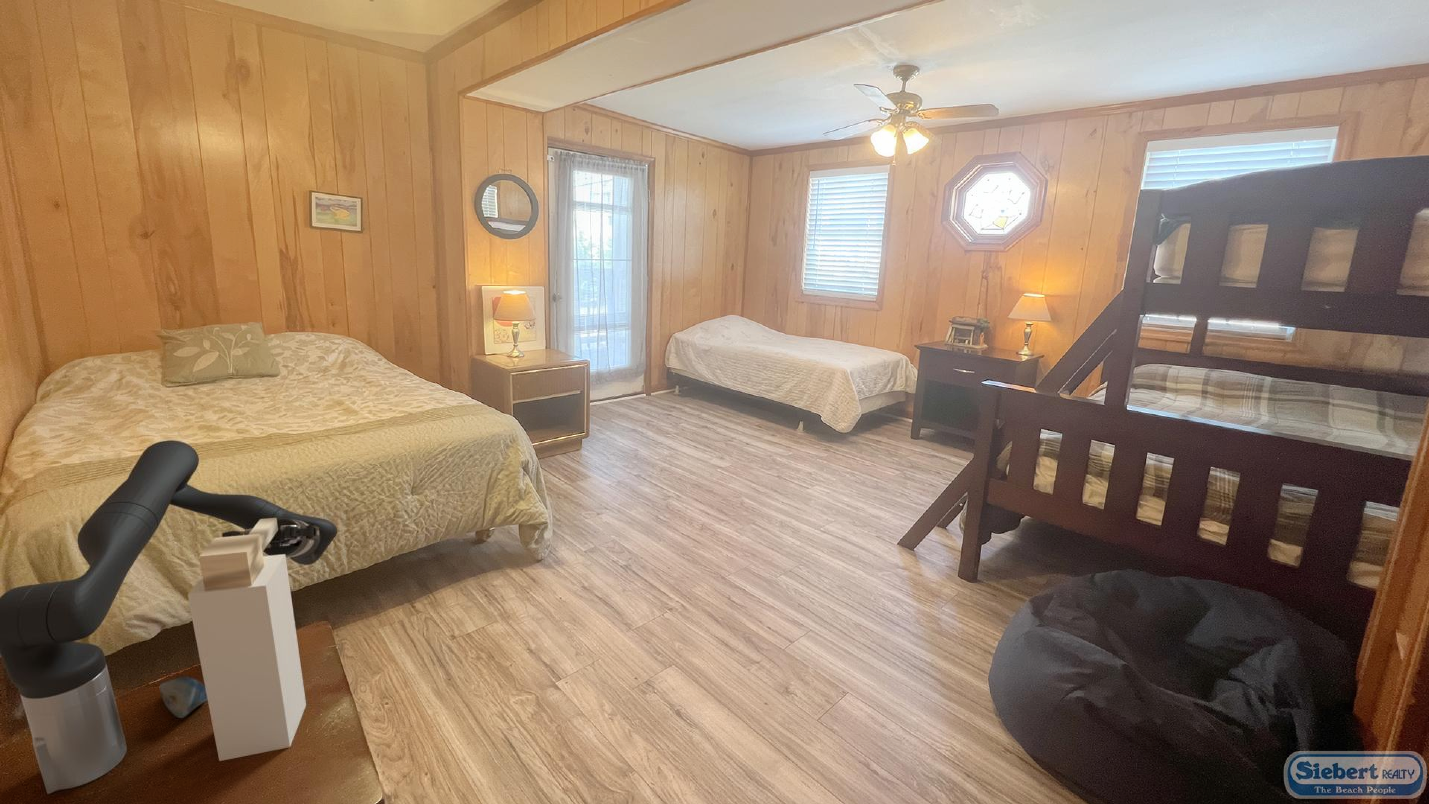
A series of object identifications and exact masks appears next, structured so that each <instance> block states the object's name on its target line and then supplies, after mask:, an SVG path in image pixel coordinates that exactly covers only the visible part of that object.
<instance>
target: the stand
mask: <svg viewBox="0 0 1429 804" xmlns="http://www.w3.org/2000/svg"><path fill="white" fill-rule="evenodd" d="M263 558H264V565H265V566H264V568H263V569H262V571H261V572H260V574H259V575H258V577H257V578H256V580H255V581H254V583H253V584H252V586H244V587H235V588H226V589H217V590H209V591H205V587H204V582H203V576H202V575H201V578H200V579H199V580H198V581H197V582H196V584H195V585H194V586H193V587H192V588H191V590H190V591H189V592H188V594H187V599H188V603H189V609H190V614H191V619H192V624H193V629H194V635H195V640H196V645H197V651H198V657H199V661H200V667H201V672H202V677H203V682H204V683H203V684H204V685H205V688H206V694H207V699H208V700H207V704H208V708H209V713H210V714H209V715H210V719H211V724H212V730H213V734H214V740H215V745H216V750H217V755H218V761H219V762H221V761H226V760H233V759H236V758H237V759H238V758H242V757H247V756H252V755H257V754H262V753H266V752H272V751H278V750H283V749H287V748H291V746H292V742H293V741H294V738H295V735H296V733H297V730H298V728H299V725H300V723H301V720H302V717H303V715H304V711H305V709H306V707H307V701H306V695H305V687H304V680H303V679H304V678H303V672H302V666H301V665H302V664H301V659H300V652H299V651H300V650H299V644H298V643H299V642H298V636H297V629H296V621H295V615H294V607H293V602H292V601H293V600H292V592H291V585H290V578H289V572H288V564H287V557H286V556H285V554H282V555H272V556H270V555H263Z"/></svg>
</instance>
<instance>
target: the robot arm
mask: <svg viewBox="0 0 1429 804" xmlns="http://www.w3.org/2000/svg"><path fill="white" fill-rule="evenodd" d="M199 461H200V457H199V454H198V453H197V451H196V449H194V448H193V447H192V446H191V445H190V444H188V443H186V442H183V441H179V440H173V439H172V440H162V441H158V442H155V443H153V444H151V445H149V446H148V447H147V448H146V449H144V451H142V453H141V455H140V457H139V459H138V460H137V461H136V463H135V465H134V466H133V467H132V469H131V472H130V473H129V475H128V477H127V479H126V480H124V482H122V483H121V484H120V485H119V486H118V487H117V488H116V489H115V490H114V491H113V492H112V493H111V494H110V495H109V496H108V497H107V498H106V499H105V500H104V501H103V502H102V504H100V505H99V507H97V509H96V510H95V511H94V512H93V513H92V515H90V517H89V518H88V519H87V520H86V522H85V523H83V524H82V526H81V528H80V531H79V532H78V533H77V541H76V542H77V546H78V550H79V551H80V554H82V557H83V559H84V560H85V562H87V564H88V565H89V567H88V569H87V570H86V572H84V574H82V575H80V576H79V577H77V578H74V579H69V580H61V581H52V582H45V583H37V584H36V583H35V584H27V585H21V586H17V587H14V588H12V589H9V590H7V591H5V592H4V593H3V594H2V595H1V596H0V658H1V660H2V663H3V666H4V667H5V671H6V674H7V675H8V676H7V677H8V678H9V680H10V682H11V683H12V684H13V685H14V686H16V688H17V689H18V693H19V695H20V698H21V702H22V705H23V708H24V709H23V710H24V713H25V716H26V719H27V723H28V727H29V730H30V733H31V738H32V745H33V746H32V747H33V750H34V753H35V754H34V755H35V758H36V761H37V764H38V767H39V771H40V774H41V777H42V781H43V784H44V788H45V790H46V794H48V795H49V794H52V793H54V792H57V791H60V790H67V789H69V790H70V789H73V788H76V787H80V786H82V785H86V784H88V783H90V782H92V781H95V780H97V779H98V778H100V777H102V776H104V775H106V774H108V772H110V771H112V770H113V769H114V768H115V767H116V766H117V765H118V764H120V763H121V762H122V760H124V758H125V756H126V753H127V750H128V748H127V743H126V738H125V734H124V730H123V727H122V722H121V719H120V714H119V710H118V706H117V702H116V698H115V694H114V690H113V685H112V682H111V677H110V673H109V669H108V665H107V661H106V660H107V659H106V656H105V653H104V651H103V649H102V648H101V646H98V645H96V644H93V643H89V642H82V641H81V642H80V640H83V639H85V638H88V637H90V636H91V635H92V634H93V633H95V632H96V631H97V630H98V628H99V627H100V626H101V625H102V623H103V622H104V620H105V619H106V617H107V615H108V613H109V612H110V609H111V607H112V606H113V603H114V601H115V598H116V597H117V595H118V593H119V591H120V588H121V587H122V585H123V582H124V580H125V578H126V577H127V575H128V573H129V571H130V570H131V568H132V566H133V565H134V563H135V562H136V560H137V559H138V557H139V555H140V554H141V553H142V551H143V550H144V548H146V546H147V545H148V543H150V541H151V539H152V537H153V535H154V534H155V533H156V531H157V530H158V527H159V526H160V525H161V522H162V520H163V519H164V517H165V515H166V512H167V510H168V509H169V506H170V505H171V506H174V507H178V508H181V509H183V510H187V511H190V512H194V513H199V514H201V515H206V516H209V517H212V518H216V519H219V520H222V521H225V522H227V523H230V524H233V525H235V526H237V527H239V528H241V529H244V531H242V530H241V531H239V530H228V531H226V532H225V531H224V532H222V533H221V537H231V536H242V535H248V534H249V533H250V532H251V530H252V529H253V528H254V527H255V525H256V524H257V523H258V521H259V520H260V519H268V518H277V525H278V531H277V532H276V534H275V535H274V537H273V538H272V539H271V541H270V542H269V544H268V545H267V547H266V548H265V549H264V551H263V554H266V556H272V555H282V554H285V556H286V558H289V559H290V560H291V561H293V562H295V563H297V564H299V565H303V566H310V565H313V564H315V563H316V562H317V561H319V560H320V559H321V557H322V555H323V554H324V553H325V552H326V550H327V549H328V548H329V546H330V545H331V543H332V542H333V541H334V539H335V538H336V536H337V534H338V528H337V526H336V524H334V522H332V521H330V520H328V519H325V518H322V517H317V516H316V517H315V516H309V515H304V514H300V513H296V512H294V511H290V510H287V509H285V508H283V507H281V506H279V505H277V504H275V503H273V502H271V501H269V500H266V499H264V498H262V497H258V496H255V495H249V494H222V493H220V494H219V493H212V492H206V491H203V490H200V489H198V488H195V487H194V486H192V485H190V484H188V483H189V482H190V479H191V478H192V477H193V475H194V474H195V472H196V471H197V469H198V466H199V464H200V462H199Z"/></svg>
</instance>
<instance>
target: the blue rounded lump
mask: <svg viewBox="0 0 1429 804" xmlns="http://www.w3.org/2000/svg"><path fill="white" fill-rule="evenodd" d="M159 692H160V695H161V698H162V701H163V702H164V704H165V706H166V708H167V709H168V710H169V712H171V713H172V715H174V716H175V717H176V718H179V719H183V718H186V717H187V716H188V715H190V713H191V712H193V711H194V710H195V709H196V708H198V706H200V705H202V704H204V703H205V702H206V701H208V699H207V694H206V688H205V683H202V681H200V680H198V679H196V678H193V677H190V676H189V677H187V676H183V677H177V678H174V679H171V680H167V681H164V682H162V683H161V684H159Z"/></svg>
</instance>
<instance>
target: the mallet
mask: <svg viewBox="0 0 1429 804" xmlns="http://www.w3.org/2000/svg"><path fill="white" fill-rule="evenodd" d="M277 531H278V525H277V518H268V519H260V520H259V521H258V523H257V524H256V525H255V527H254V528H253V529H252V530H251V532H250V533H249V534H248V535H242V536H231V537H222V536H221V537H220V536H219V537H214V539H213V540H212V541H211V542H210V543H209V544H208V546H206V548H205V549H204V550H203V552H201V554H199V556H198V559H199V564H200V571H201V577H202V576H203V582H204V587H205V591H209V590H217V589H226V588H235V587H244V586H252V584H253V583H254V581H255V580H256V578H257V577H258V575H259V574H260V572H261V571H262V569H263V568H264V566H265V565H264V558H263V556H264V552H263V551H264V549H265V548H266V547H267V545H268V544H269V542H270V541H271V539H272V538H273V537H274V535H275V534H276V532H277Z"/></svg>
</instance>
